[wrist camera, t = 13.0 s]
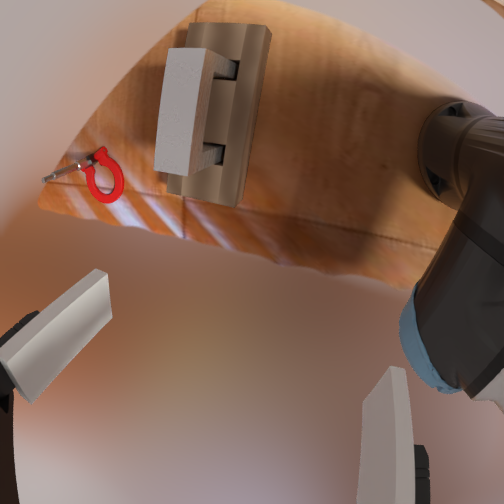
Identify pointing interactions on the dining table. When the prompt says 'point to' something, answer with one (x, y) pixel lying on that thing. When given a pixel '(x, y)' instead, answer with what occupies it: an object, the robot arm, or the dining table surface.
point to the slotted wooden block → (228, 110)
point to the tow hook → (89, 170)
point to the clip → (188, 110)
